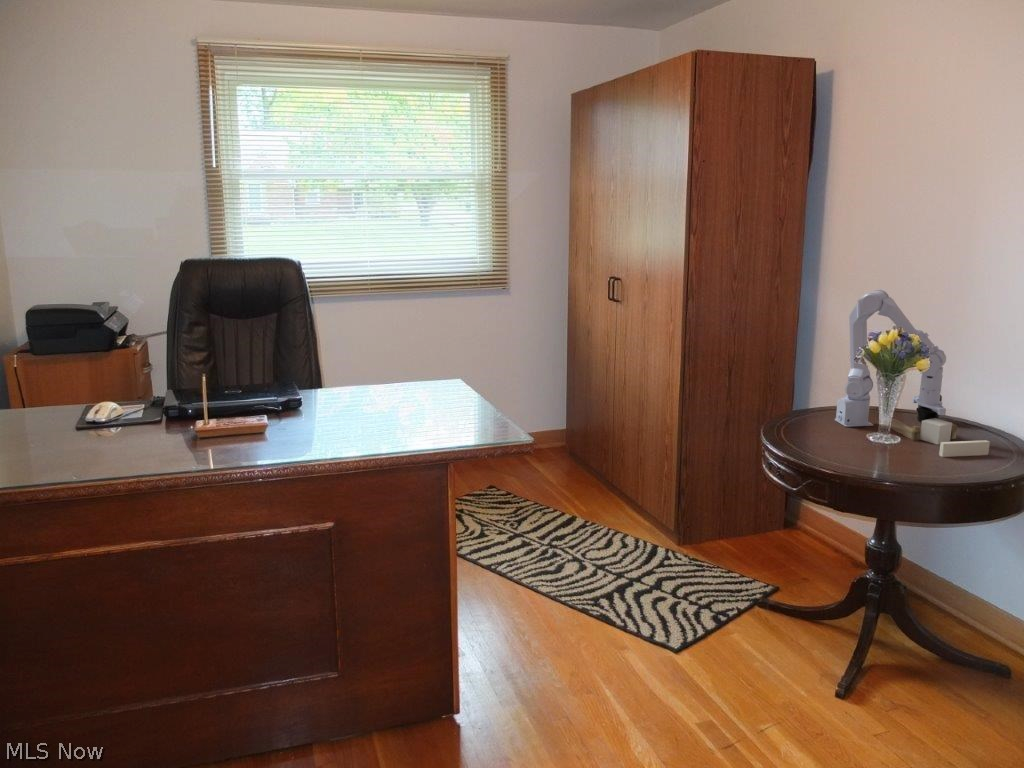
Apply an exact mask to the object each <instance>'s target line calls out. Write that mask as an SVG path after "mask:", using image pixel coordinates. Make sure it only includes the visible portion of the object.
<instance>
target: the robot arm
mask: <svg viewBox="0 0 1024 768" xmlns="http://www.w3.org/2000/svg"><path fill="white" fill-rule="evenodd" d="M876 312H877V315H879V316H883V317H887V318H889V320H891V322H892V323H893V324H894V325H895V326H896V327H897V328H898V327H902V328H903V330H904V331H905V332H907V333H909V334H915V335H918V336H919V338H920V340H921V341H923V342H924V343H925V344H926V345H927V346H928V348H929V350H930V359H929V361H930V367H929V369H928V370H927V371H925V372H923V371H922V372H921V378H920V389H919V394H918V396H916V395H915V396H912V400H911V401H912V403H913V404H917V406H918V405H920V406H921V407H920V408H918V407H917V408H916V409H915V410H916V412H918V415H919V417H920V421H919V422H920V425H921V424H922V421H923V420H927V419H932V418H936V416H937V415H940V416H944V415H946V412H947V408H945V407H944V406H943V402H940V394H941V393H942V385H943V376H944V375H943V373H944V367H943V366H944V365H945V364H946V361H947V355H946V354H945V352H944V350H942V349H940V348H939V347H938V345H935V344H934V343H933V342H932V341H931V339H930V338H929V336H930V335H929V334H928V332H924V331H923V330H919V329H916V328H915V327H914V326H913V324H912V323H911V321H909V319H908V317H907V316H906V315H905V314H904V313H903V311H902V310H901V308H900V307H899V306H898V304H897V303H896V302H895V299H893V298H892V297H891V296H889V294H888V293H887V292H886V291H885V290H882V289H876V290H874V291H871V292H868V293H865V294H863V295H862V296H861V297H860V298H858V299H857V302H856V304H855V305H854V307H853V309H852V311H851V312H850V313H849V317H848V318H849V356H850V357H849V358H850V359H849V360H850V361H849V362H850V365H849V366H850V367H849V369H850V370H849V372H848V375H847V382H846V383H845V386H844V391H845V394H846V396H844V397H840V398H839V399H838V400H837V403H836V413H835V414H836V415H835V418H834V421H835V422H837V423H839V424H840V425H842V426H843V427H847V428H849V427H850V428H851V427H870V426H871V427H872V426H874V424H873V423H872V422H870V421H869V416H870V415H869V414H870V403H871V395H870V392H871V391H872V390H873V388H874V382H873V380H872V378H871V372H870V371H871V370H870V369H869V367H868V365H863V364H857V363H855V362H854V359H855V357H856V351H857V349H858V348H859V347H861V346H863V345H866V344H867V345H868V319H870V317H872V316H873V315H874V314H875V313H876Z"/></svg>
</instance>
